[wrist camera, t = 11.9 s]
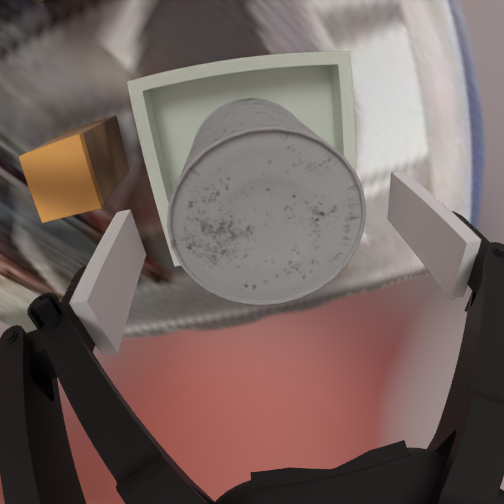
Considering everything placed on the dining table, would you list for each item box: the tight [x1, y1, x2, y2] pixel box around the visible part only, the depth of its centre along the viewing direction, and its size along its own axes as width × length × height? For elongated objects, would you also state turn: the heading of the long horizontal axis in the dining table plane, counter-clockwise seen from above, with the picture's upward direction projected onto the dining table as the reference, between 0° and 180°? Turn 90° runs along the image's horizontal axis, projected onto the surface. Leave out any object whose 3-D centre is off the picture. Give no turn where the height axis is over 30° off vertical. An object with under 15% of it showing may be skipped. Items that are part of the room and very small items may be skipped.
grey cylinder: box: [167, 98, 366, 305], centre depth 20 cm, size 10×10×12 cm
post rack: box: [19, 0, 129, 223], centre depth 17 cm, size 23×5×8 cm, turn 7°
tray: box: [127, 52, 356, 266], centre depth 25 cm, size 16×16×3 cm
